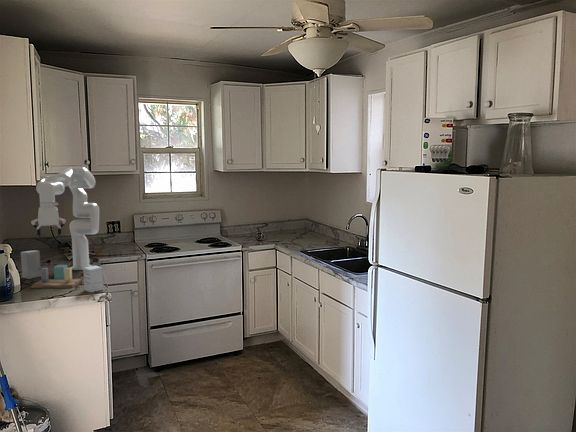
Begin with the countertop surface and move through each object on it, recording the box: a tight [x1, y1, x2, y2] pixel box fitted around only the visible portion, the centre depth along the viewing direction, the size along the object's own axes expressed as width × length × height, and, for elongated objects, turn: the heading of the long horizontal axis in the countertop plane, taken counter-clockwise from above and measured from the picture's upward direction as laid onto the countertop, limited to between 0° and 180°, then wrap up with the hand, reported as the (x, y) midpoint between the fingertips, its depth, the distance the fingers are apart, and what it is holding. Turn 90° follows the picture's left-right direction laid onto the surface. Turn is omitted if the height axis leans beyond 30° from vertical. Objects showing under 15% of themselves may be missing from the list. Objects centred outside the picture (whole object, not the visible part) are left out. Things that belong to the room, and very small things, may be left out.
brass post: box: [65, 267, 73, 283], centre depth 266 cm, size 3×3×8 cm
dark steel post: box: [40, 267, 50, 283], centre depth 265 cm, size 3×3×8 cm
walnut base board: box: [30, 278, 83, 289], centre depth 266 cm, size 14×22×2 cm, turn 93°
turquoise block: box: [53, 264, 69, 279], centre depth 280 cm, size 6×6×8 cm
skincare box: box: [20, 249, 42, 280], centre depth 282 cm, size 8×7×16 cm
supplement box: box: [82, 265, 104, 294], centre depth 255 cm, size 7×7×13 cm
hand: (49, 235), depth 261 cm, fingers open, 9 cm apart
